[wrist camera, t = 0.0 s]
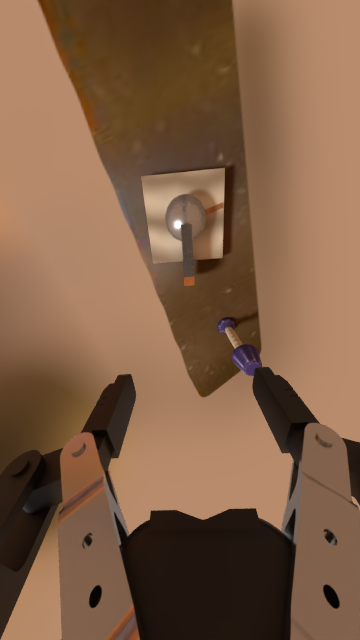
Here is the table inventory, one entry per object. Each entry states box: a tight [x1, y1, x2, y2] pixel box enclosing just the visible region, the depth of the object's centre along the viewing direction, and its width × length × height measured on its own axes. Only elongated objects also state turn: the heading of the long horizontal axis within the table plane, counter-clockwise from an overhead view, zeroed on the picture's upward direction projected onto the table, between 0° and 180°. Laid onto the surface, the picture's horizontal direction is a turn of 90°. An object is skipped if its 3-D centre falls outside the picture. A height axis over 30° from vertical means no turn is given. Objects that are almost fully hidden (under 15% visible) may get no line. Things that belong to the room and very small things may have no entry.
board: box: [141, 168, 225, 263], centre depth 31 cm, size 14×14×2 cm
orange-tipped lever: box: [165, 194, 206, 286], centre depth 30 cm, size 15×7×4 cm, turn 4°
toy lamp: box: [218, 318, 262, 376], centre depth 34 cm, size 5×5×17 cm
